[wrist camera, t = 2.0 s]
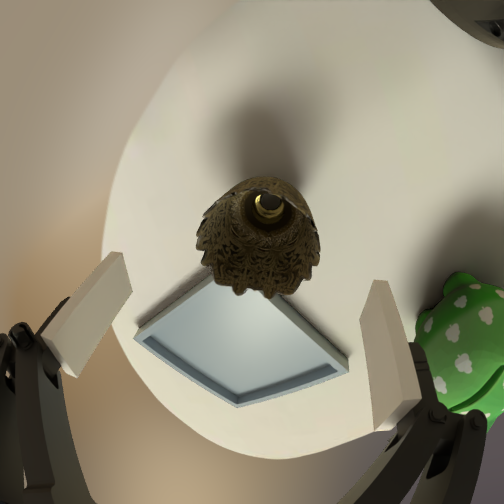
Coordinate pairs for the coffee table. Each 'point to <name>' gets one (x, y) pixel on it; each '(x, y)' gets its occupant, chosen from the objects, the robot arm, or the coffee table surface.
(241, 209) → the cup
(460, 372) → the piggy bank
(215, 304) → the tray
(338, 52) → the coffee table surface
